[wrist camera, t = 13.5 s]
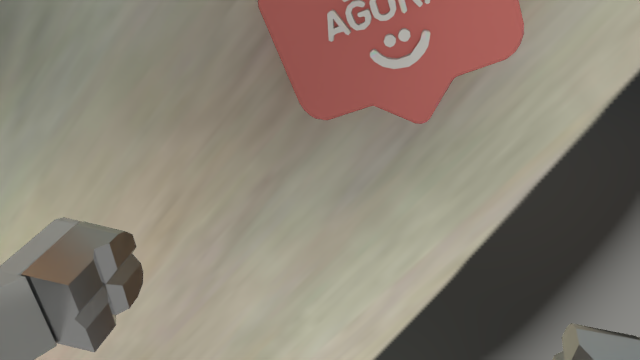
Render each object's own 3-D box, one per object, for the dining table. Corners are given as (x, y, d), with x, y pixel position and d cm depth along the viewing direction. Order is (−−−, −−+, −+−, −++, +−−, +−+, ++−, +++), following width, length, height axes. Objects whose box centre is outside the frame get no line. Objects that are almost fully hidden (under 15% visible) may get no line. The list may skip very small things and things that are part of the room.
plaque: (321, 158, 42) (245, -17, 37) (327, 141, 46) (258, -21, 40) (540, 88, 37) (490, -128, 31) (528, 75, 40) (481, -123, 35)
